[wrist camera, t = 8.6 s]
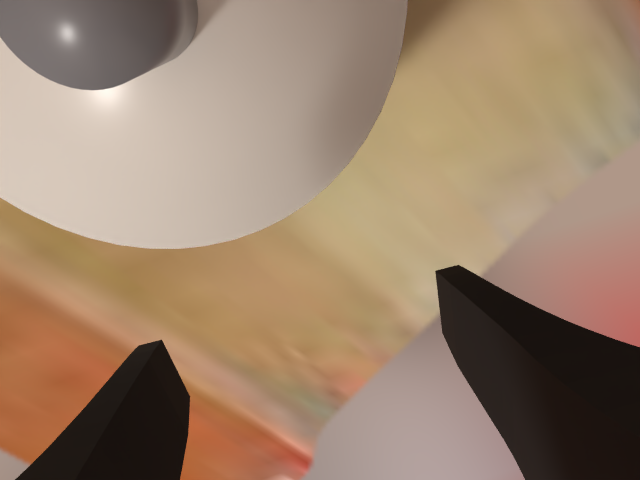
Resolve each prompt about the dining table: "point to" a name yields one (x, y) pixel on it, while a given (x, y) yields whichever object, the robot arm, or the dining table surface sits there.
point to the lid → (186, 110)
